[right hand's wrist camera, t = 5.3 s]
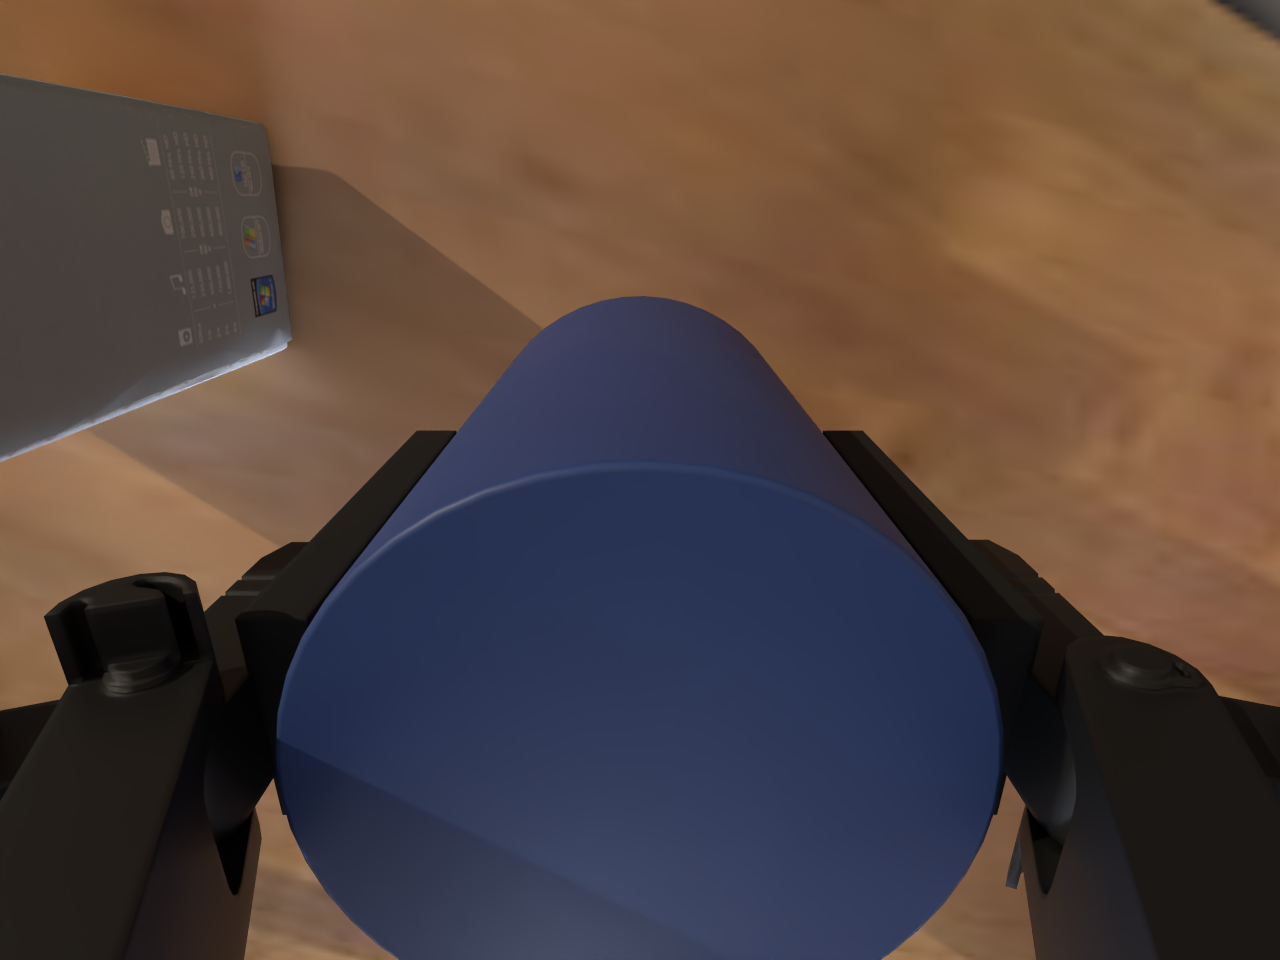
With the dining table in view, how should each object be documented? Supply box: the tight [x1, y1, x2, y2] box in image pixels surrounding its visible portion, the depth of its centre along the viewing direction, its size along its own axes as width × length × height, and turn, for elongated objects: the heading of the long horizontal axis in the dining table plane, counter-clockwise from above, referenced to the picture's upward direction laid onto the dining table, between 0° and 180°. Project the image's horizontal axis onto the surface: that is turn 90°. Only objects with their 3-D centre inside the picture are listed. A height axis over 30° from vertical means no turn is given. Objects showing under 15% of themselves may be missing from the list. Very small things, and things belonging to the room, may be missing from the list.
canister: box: [276, 296, 1004, 960], centre depth 12 cm, size 7×7×10 cm
